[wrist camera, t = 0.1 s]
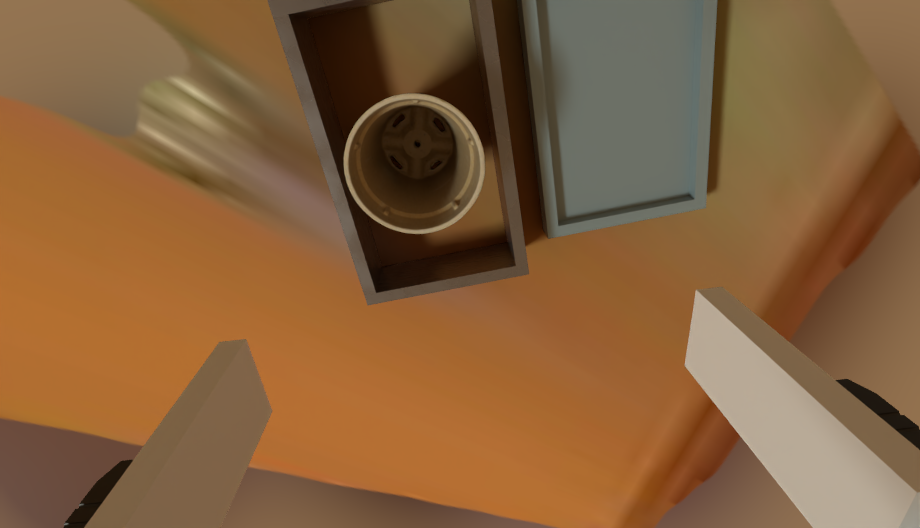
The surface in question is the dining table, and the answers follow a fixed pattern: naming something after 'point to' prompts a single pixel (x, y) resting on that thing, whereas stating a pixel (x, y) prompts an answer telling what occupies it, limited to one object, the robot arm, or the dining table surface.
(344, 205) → the metal holder
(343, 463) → the dining table surface
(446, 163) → the flower pot
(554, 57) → the tray
